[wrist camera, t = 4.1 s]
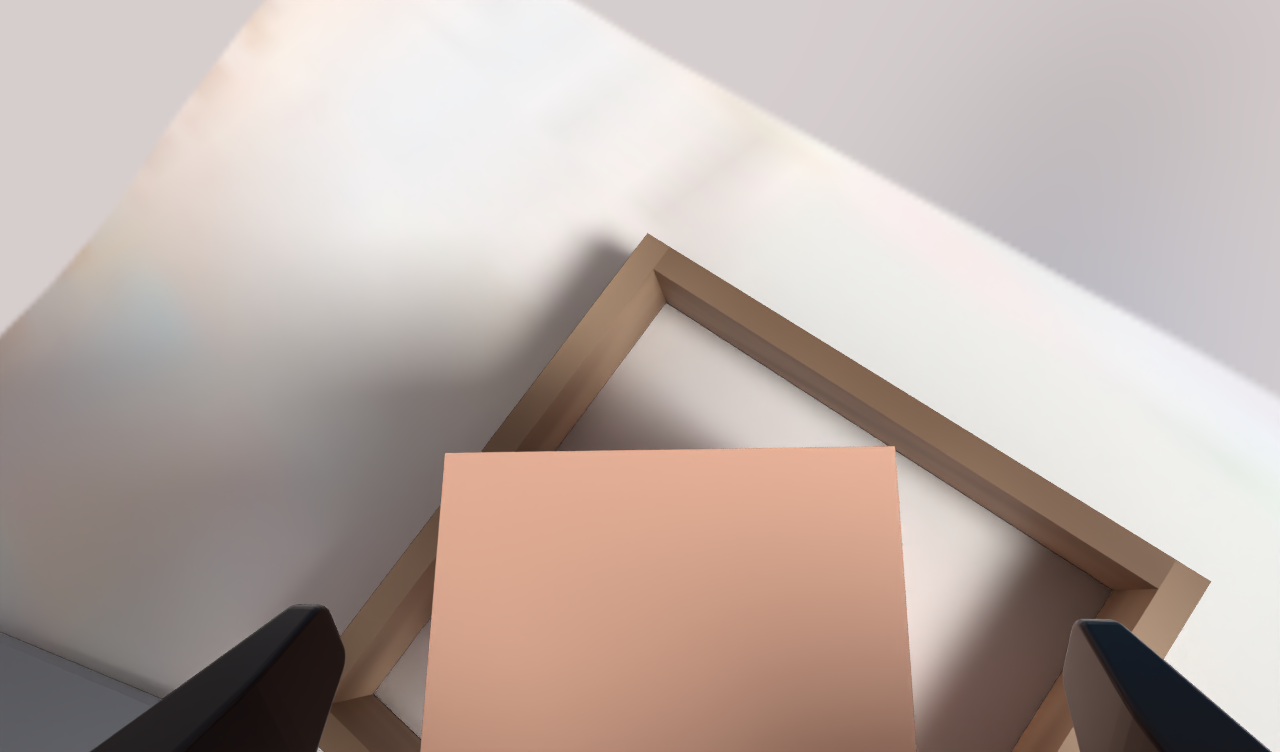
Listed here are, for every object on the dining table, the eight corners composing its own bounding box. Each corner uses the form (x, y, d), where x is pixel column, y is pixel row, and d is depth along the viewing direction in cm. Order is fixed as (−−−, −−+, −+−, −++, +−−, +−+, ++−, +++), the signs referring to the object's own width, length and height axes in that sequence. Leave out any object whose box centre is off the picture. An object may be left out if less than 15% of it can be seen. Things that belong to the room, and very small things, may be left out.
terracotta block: (851, 783, 16) (935, 1006, 7) (601, 769, 16) (403, 954, 8) (838, 524, 17) (895, 446, 8) (607, 523, 18) (445, 453, 9)
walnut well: (803, 1155, 14) (806, 1242, 12) (337, 699, 18) (283, 710, 16) (1158, 583, 16) (1211, 581, 14) (661, 269, 19) (647, 233, 17)
